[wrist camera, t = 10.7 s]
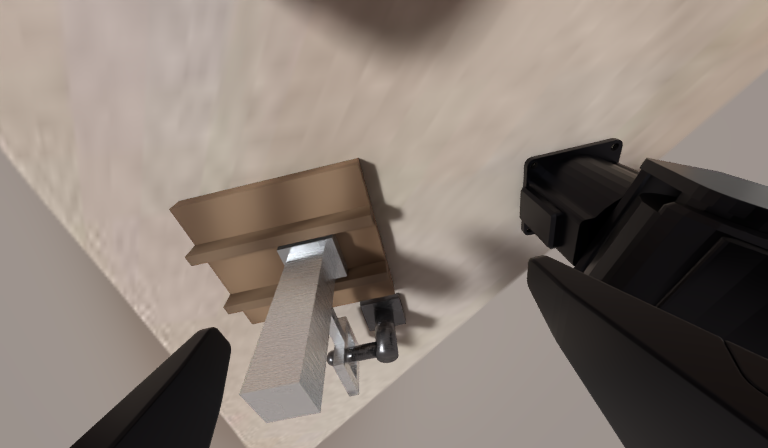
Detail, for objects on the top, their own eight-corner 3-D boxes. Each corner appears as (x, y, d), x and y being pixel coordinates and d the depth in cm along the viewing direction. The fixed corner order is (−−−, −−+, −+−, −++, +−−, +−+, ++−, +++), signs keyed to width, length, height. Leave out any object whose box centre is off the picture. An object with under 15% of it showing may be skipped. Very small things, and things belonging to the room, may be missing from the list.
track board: (358, 158, 19) (357, 171, 17) (393, 284, 25) (396, 306, 23) (178, 201, 20) (156, 219, 18) (256, 313, 26) (246, 337, 24)
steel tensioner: (333, 230, 20) (311, 372, 11) (375, 340, 27) (382, 483, 18) (280, 242, 20) (216, 391, 11) (335, 348, 27) (322, 494, 18)
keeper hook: (398, 293, 26) (405, 338, 22) (405, 318, 28) (412, 364, 24) (325, 308, 26) (318, 355, 22) (336, 332, 28) (332, 379, 24)
